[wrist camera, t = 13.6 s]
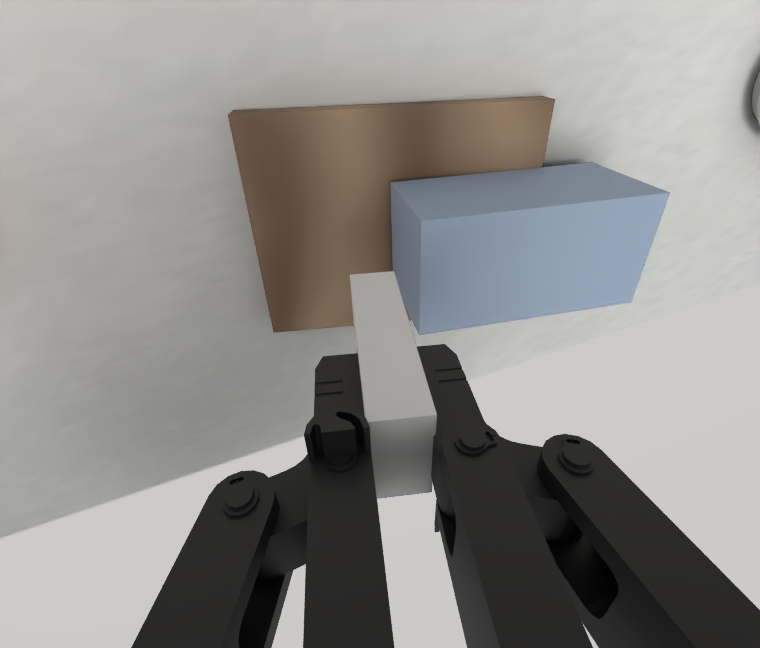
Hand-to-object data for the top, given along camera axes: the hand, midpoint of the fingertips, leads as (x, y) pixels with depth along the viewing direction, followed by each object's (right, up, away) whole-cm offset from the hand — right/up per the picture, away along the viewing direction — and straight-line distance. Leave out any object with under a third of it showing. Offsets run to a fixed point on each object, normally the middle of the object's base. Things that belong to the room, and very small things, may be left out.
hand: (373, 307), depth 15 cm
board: (+1, +5, +7) cm, 9 cm away
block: (+1, +2, +4) cm, 4 cm away
